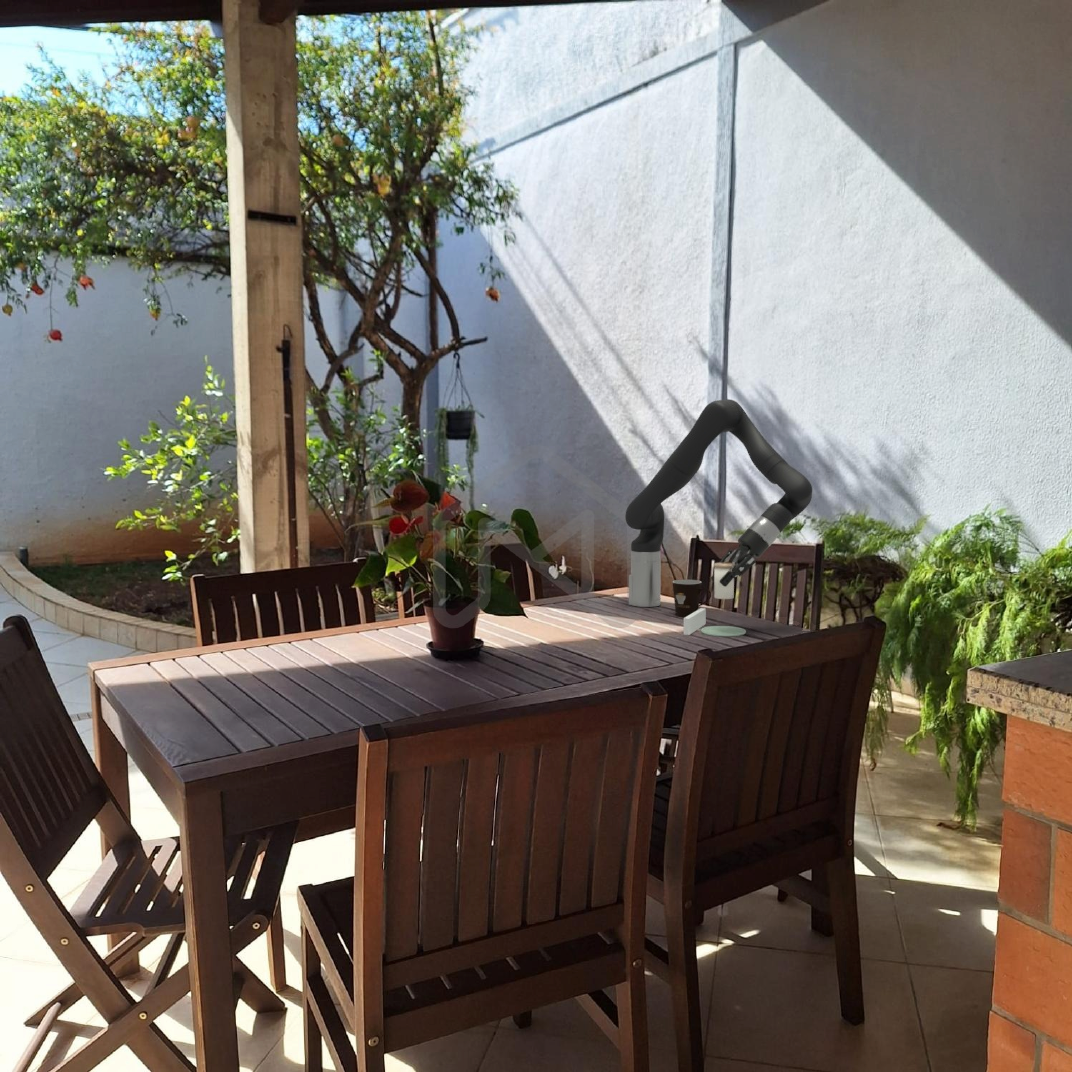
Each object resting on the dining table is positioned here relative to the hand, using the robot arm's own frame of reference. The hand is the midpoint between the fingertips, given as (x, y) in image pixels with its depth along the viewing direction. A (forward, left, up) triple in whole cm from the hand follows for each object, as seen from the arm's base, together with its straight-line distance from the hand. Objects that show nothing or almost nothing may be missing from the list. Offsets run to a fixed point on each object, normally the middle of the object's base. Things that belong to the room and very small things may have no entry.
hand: (717, 582), depth 261 cm
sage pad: (+1, +1, -14) cm, 14 cm away
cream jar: (+1, +1, -4) cm, 5 cm away
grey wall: (-7, +1, -14) cm, 15 cm away
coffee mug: (-14, +19, -14) cm, 27 cm away
